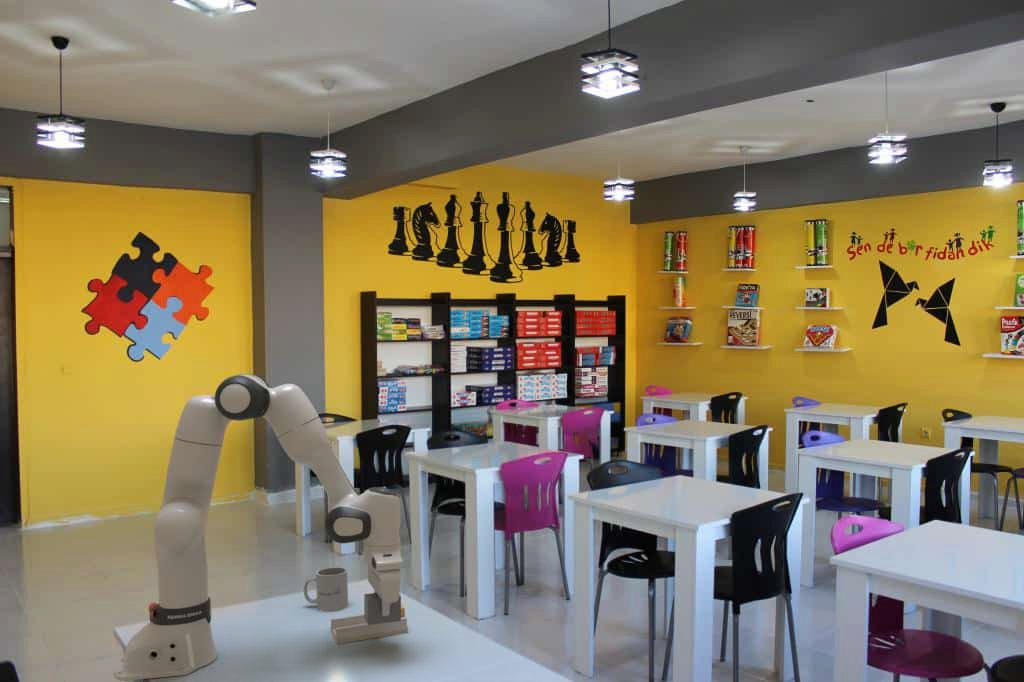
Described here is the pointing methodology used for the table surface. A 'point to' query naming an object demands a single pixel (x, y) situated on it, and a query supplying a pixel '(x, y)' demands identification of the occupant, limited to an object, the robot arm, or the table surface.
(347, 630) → the rail
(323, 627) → the table surface
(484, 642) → the table surface
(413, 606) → the table surface
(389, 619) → the block
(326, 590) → the mug
